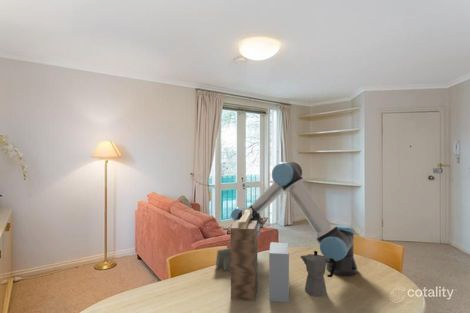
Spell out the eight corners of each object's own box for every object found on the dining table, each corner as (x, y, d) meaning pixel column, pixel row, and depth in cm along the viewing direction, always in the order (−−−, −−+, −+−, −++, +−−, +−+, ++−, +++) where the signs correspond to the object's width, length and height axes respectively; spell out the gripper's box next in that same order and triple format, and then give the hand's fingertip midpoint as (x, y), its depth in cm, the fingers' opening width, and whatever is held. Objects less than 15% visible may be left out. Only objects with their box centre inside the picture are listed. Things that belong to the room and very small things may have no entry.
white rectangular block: (288, 286, 127) (288, 243, 126) (288, 302, 113) (288, 254, 112) (270, 285, 128) (270, 242, 128) (269, 301, 114) (269, 253, 114)
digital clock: (244, 263, 154) (244, 244, 154) (247, 269, 145) (247, 249, 145) (215, 264, 152) (215, 245, 152) (216, 271, 143) (216, 251, 143)
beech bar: (251, 216, 137) (251, 210, 137) (245, 229, 113) (245, 221, 113) (245, 215, 137) (245, 209, 137) (238, 228, 114) (238, 221, 114)
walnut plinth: (257, 285, 128) (257, 220, 127) (254, 301, 114) (254, 228, 114) (236, 283, 130) (236, 219, 129) (230, 299, 116) (230, 227, 115)
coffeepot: (298, 293, 120) (298, 252, 120) (301, 284, 129) (301, 245, 128) (336, 300, 114) (336, 257, 114) (337, 290, 123) (337, 250, 123)
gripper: (266, 232, 146) (263, 219, 126) (236, 230, 149) (229, 218, 129) (266, 218, 150) (264, 203, 129) (237, 217, 152) (230, 202, 132)
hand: (246, 210), depth 129 cm, fingers closed on beech bar, 3 cm apart
